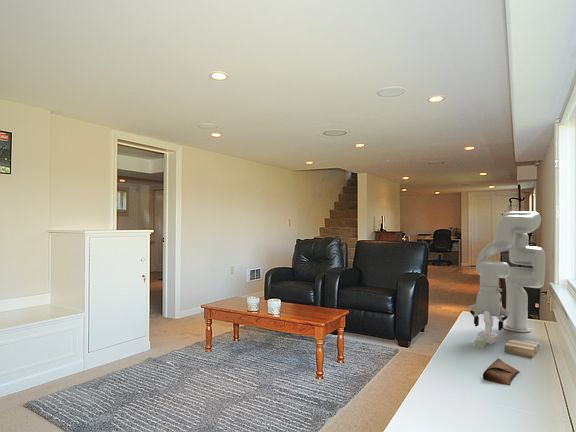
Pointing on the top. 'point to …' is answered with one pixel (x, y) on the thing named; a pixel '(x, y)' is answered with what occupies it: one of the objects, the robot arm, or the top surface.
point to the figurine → (488, 329)
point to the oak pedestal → (521, 348)
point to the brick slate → (533, 342)
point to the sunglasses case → (500, 373)
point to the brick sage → (480, 342)
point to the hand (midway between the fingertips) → (488, 327)
